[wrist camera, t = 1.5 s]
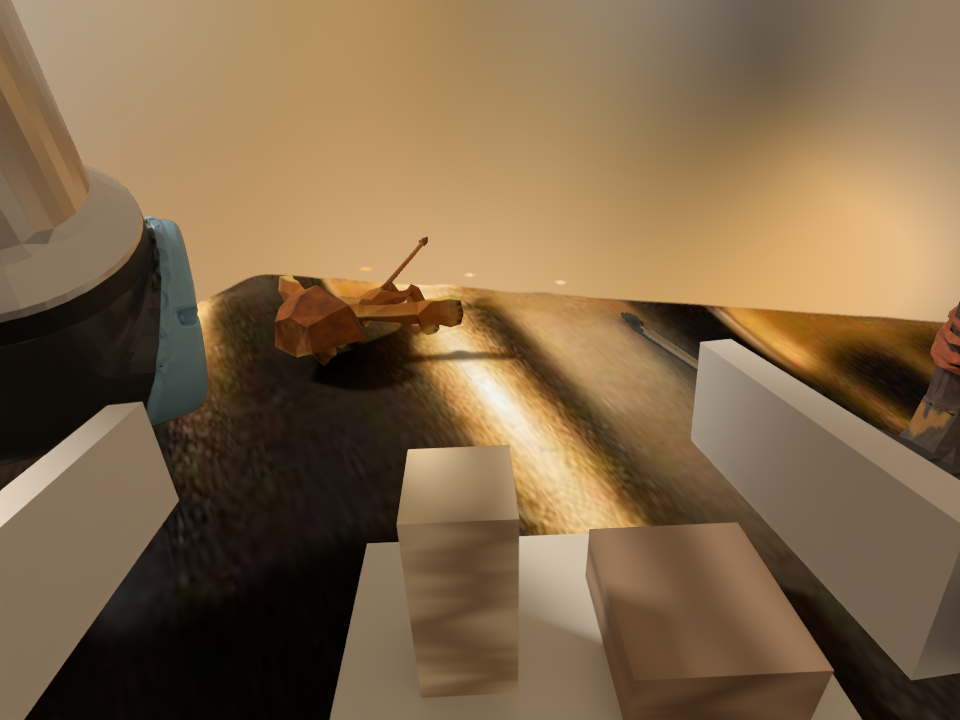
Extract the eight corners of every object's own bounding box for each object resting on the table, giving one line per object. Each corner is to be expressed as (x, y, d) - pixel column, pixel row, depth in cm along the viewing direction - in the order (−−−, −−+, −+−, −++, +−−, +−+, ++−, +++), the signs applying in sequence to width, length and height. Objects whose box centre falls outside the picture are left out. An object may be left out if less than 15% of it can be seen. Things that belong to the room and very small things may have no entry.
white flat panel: (304, 845, 21) (303, 841, 21) (367, 547, 36) (367, 543, 35) (915, 811, 22) (918, 807, 22) (736, 529, 36) (737, 526, 36)
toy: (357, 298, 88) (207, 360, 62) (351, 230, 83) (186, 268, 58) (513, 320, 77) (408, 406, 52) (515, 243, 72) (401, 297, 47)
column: (421, 697, 26) (396, 524, 21) (426, 610, 31) (408, 449, 25) (518, 693, 26) (519, 519, 21) (510, 607, 31) (509, 445, 25)
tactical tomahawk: (764, 392, 54) (767, 383, 54) (711, 397, 53) (714, 388, 52) (655, 317, 72) (657, 310, 72) (613, 320, 71) (615, 312, 70)
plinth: (625, 730, 25) (634, 680, 23) (585, 575, 33) (589, 529, 31) (810, 720, 25) (833, 670, 23) (724, 568, 33) (737, 522, 31)
